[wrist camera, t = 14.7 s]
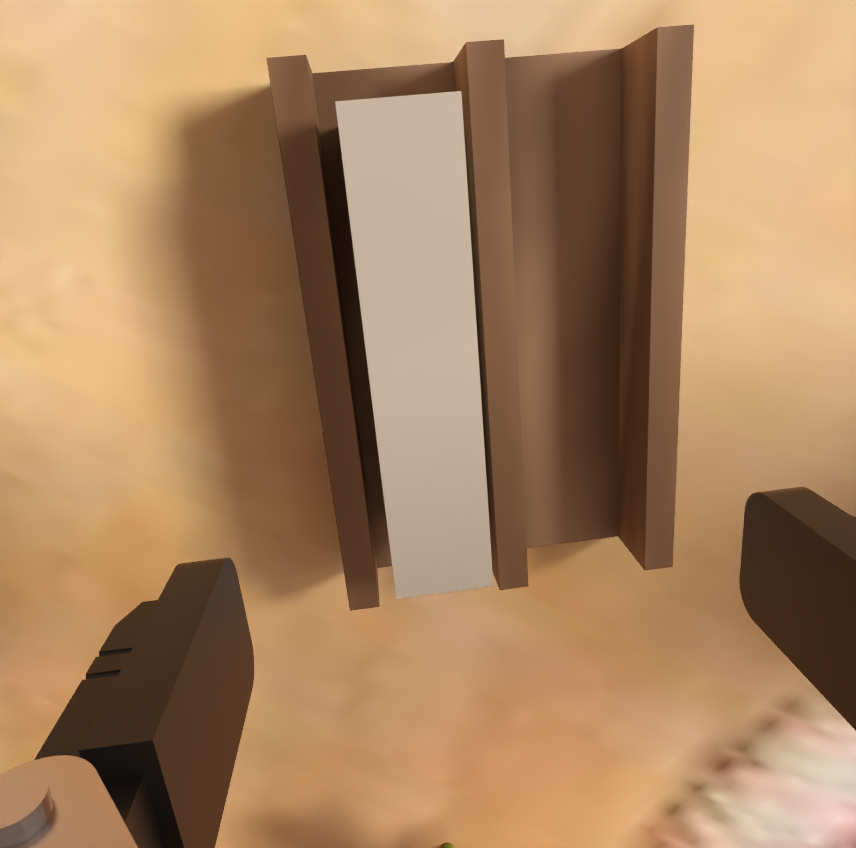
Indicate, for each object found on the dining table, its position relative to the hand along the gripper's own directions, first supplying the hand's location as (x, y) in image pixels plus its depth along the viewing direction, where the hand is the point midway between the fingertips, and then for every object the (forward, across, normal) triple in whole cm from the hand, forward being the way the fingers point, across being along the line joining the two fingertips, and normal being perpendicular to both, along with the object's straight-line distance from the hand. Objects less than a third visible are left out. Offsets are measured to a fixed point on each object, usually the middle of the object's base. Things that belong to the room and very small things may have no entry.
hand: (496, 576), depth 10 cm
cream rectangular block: (+17, 0, 0) cm, 17 cm away
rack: (+18, -3, 0) cm, 18 cm away
